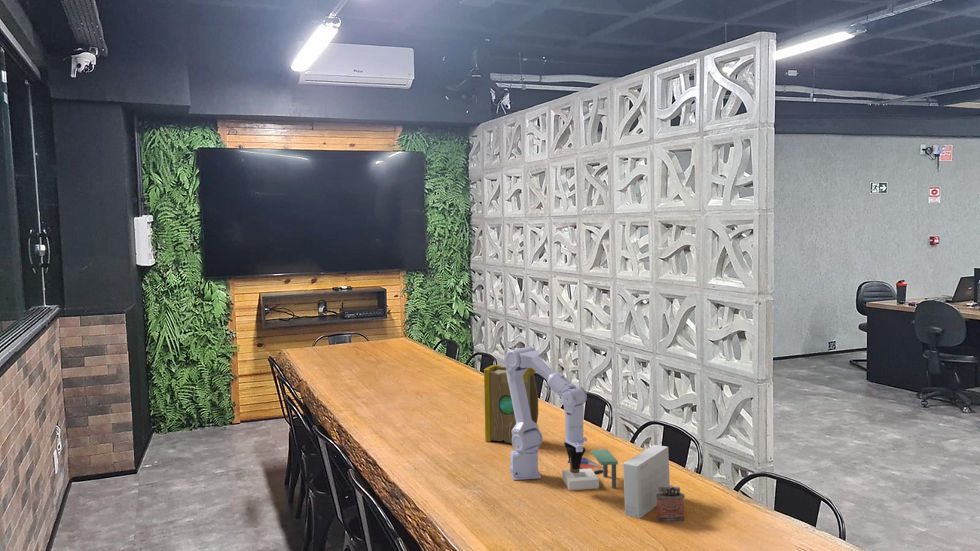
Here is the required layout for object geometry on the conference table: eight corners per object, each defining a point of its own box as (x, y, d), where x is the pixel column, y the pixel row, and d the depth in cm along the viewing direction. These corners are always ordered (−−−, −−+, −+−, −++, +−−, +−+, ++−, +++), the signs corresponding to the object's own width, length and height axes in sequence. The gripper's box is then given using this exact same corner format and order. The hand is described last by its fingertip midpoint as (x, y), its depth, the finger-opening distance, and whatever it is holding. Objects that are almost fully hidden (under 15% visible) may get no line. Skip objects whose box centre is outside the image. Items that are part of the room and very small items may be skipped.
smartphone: (583, 459, 252) (583, 457, 251) (607, 472, 238) (607, 469, 238) (566, 463, 248) (566, 460, 248) (589, 476, 235) (589, 473, 235)
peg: (580, 472, 218) (580, 454, 218) (571, 473, 218) (571, 455, 218) (578, 469, 221) (578, 451, 221) (569, 470, 221) (569, 451, 221)
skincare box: (654, 492, 219) (654, 443, 218) (670, 496, 216) (670, 446, 215) (622, 514, 203) (622, 462, 202) (639, 519, 200) (639, 466, 198)
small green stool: (601, 489, 222) (601, 462, 221) (591, 475, 234) (591, 450, 233) (617, 488, 223) (617, 461, 222) (607, 474, 235) (607, 449, 234)
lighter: (682, 516, 201) (682, 483, 200) (685, 521, 197) (685, 488, 197) (654, 517, 200) (654, 484, 200) (658, 522, 197) (658, 488, 196)
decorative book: (482, 441, 273) (481, 367, 271) (495, 433, 283) (494, 361, 280) (528, 448, 264) (528, 371, 261) (540, 440, 274) (539, 366, 271)
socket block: (568, 490, 222) (568, 481, 222) (562, 478, 232) (562, 470, 232) (599, 488, 223) (598, 479, 223) (591, 477, 233) (591, 468, 233)
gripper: (592, 431, 212) (592, 474, 213) (581, 418, 226) (581, 458, 227) (569, 432, 211) (570, 475, 212) (560, 419, 226) (560, 459, 227)
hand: (574, 466), depth 220 cm, fingers closed on peg, 3 cm apart
